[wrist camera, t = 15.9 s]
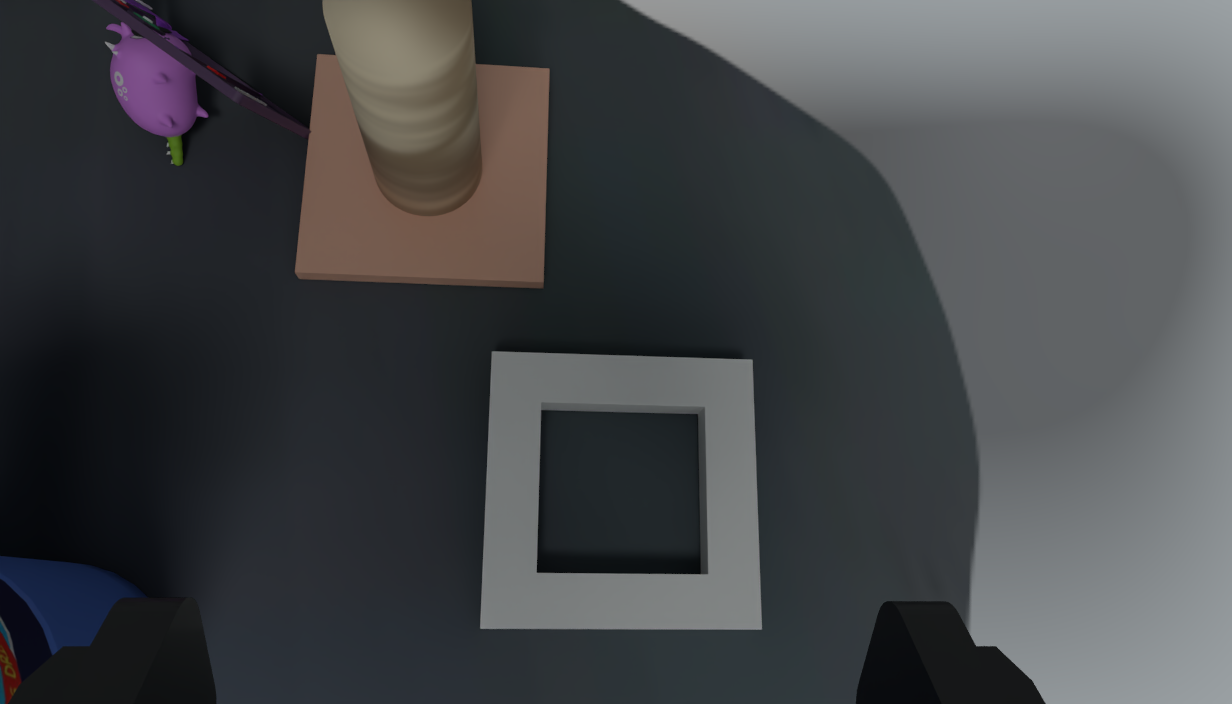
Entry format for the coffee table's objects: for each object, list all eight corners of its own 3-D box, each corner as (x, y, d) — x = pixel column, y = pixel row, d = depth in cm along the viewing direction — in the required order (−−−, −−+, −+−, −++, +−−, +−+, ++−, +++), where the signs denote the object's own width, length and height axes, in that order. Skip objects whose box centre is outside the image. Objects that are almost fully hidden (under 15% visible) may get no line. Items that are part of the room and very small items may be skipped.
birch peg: (430, 237, 38) (399, 95, 28) (351, 168, 39) (290, 3, 28) (504, 165, 39) (501, 3, 29) (426, 99, 40) (396, -84, 29)
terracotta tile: (542, 288, 39) (543, 282, 38) (299, 278, 38) (294, 272, 37) (548, 78, 42) (549, 68, 41) (321, 64, 41) (317, 54, 40)
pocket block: (752, 628, 36) (761, 629, 35) (481, 627, 35) (480, 629, 34) (743, 368, 39) (752, 359, 38) (492, 361, 38) (491, 351, 36)
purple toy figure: (253, 76, 33) (59, -61, 34) (173, 197, 33) (-17, 58, 34) (329, 121, 40) (166, 5, 40) (262, 221, 40) (102, 105, 41)
